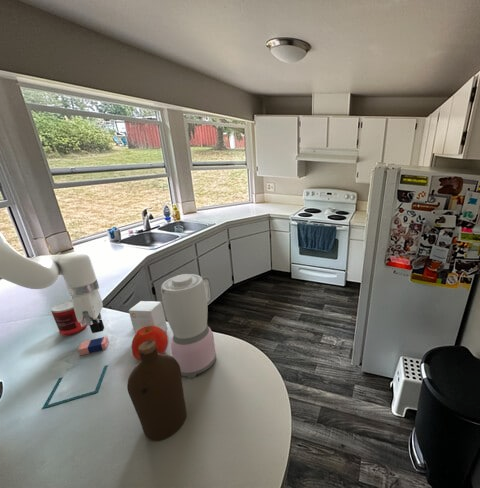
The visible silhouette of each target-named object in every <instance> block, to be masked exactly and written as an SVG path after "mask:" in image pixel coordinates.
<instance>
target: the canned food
mask: <svg viewBox="0 0 480 488" xmlns="http://www.w3.org/2000/svg"><path fill="white" fill-rule="evenodd" d="M50 311H51V314H52V317H53V320H54V322H55V324H56V326H57V329H58V331H59V333H60V335H62V336H65V337H66V336H73V335H76V334H78V333H80V332H82V331H84V330H85V329H86V328H87V325H86V321H85V318H84V319H83V321H82V322H81V323H79V322H78V321H77V318H76V314H75V311H74V307H73V301H72V299H67V300H63V301H61V302H58V303H56V304H54V305H52V306H51V308H50Z"/></svg>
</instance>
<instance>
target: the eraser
mask: <svg viewBox="0 0 480 488" xmlns="http://www.w3.org/2000/svg"><path fill="white" fill-rule="evenodd" d="M109 343H110V340H109V337H108V336H102V337H98V338H94V339H91V340H86V341H82V342H81V343H80V345H79V347H78V349H77V351H78V354H79V356H84V355H88V354H92V353H97V352H101V351H105V350H107V348H108V346H109Z"/></svg>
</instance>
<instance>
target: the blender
mask: <svg viewBox="0 0 480 488" xmlns="http://www.w3.org/2000/svg"><path fill="white" fill-rule="evenodd" d="M160 293H161V299H162V306H163V311H164V315H165V319H166V321H167V322H168V325H169V327H170V329H171V331H172V334H173V335H172V338H171V342H170V351H171V355H172V357H173V358H174V359H175V360H176V361H177V362H178V364H179V366H180V370H181V376H185V377H187V379H194V378H196V375H198V374H201V373H203V372H205V371H206V370H208V369H209V368H211V367H212V366H213V364H214V363H215V361H217V353H216V346H215V345H216V344H215V337H214V333H213V330H212V329H211V327H210V326H209V325H208V314H209V312H208V309H209V308H208V306H209V305H208V304H209V303H210V302H211V300H212V287H211V281H210V278H209V277H208V276H205V275H203V276H201V275H198V274H195V273H181V274H177V275H175V276H172V277H170V278H168V279H166V280H165V281H164V282H163V283H162V284H161V286H160Z"/></svg>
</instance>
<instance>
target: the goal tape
mask: <svg viewBox="0 0 480 488" xmlns="http://www.w3.org/2000/svg"><path fill="white" fill-rule="evenodd" d="M107 368H108V364H106V365H104V366H103V368H102V371H101V374H100V375H99V379H98V382H97V384H96V386H95V389H94V390H93V391H90V392H86V393H82V394H79V395H76V396H72V397H69V398H66V399H61V400H59V401H55V402H52V403H50V402H51V400H52V399H53V397H54V394H55V393H56V391H57V390H58V388H59V385H60V384H59V383H61V382H62V381H63V378H64V377H59V378H58V379H57V381H56V383H55V385H54V386H53V388H52V390H51V392H50V393H49V394H48V397H47V399H46V401H45V402H44V404H43V406H42V408H41V410H43V409H48V408H51V407H54V406H57V405H60V404H64V403H67V402H70V401H74V400H77V399H80V398H83V397H88V396H91V395H94V394H97V393H99V390H100V388H101V385H102V382H103V379H104V377H105V374H106V371H107Z"/></svg>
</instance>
